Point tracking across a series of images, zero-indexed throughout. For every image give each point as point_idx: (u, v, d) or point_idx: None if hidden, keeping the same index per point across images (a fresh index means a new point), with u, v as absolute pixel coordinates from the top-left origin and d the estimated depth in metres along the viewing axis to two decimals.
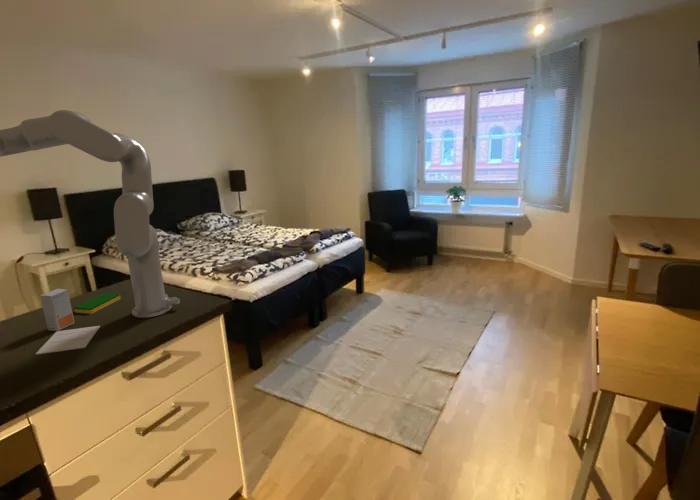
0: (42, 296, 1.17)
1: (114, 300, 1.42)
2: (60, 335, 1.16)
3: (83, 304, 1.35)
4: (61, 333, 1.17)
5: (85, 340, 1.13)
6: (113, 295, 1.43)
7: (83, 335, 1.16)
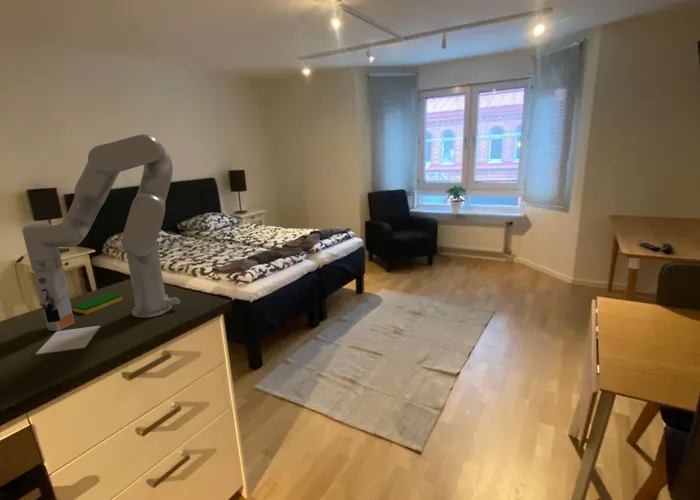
0: None
1: (114, 301, 1.41)
2: (60, 335, 1.16)
3: (82, 303, 1.36)
4: (61, 333, 1.17)
5: (85, 340, 1.13)
6: (114, 296, 1.42)
7: (83, 335, 1.16)
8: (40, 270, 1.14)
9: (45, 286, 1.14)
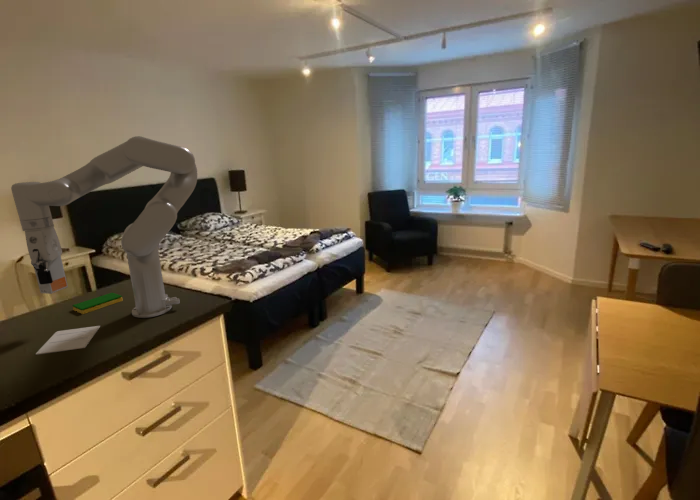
0: None
1: (113, 302, 1.40)
2: (60, 335, 1.16)
3: (82, 302, 1.36)
4: (61, 333, 1.17)
5: (85, 340, 1.13)
6: (114, 296, 1.41)
7: (83, 335, 1.16)
8: (30, 229, 1.10)
9: (36, 246, 1.11)
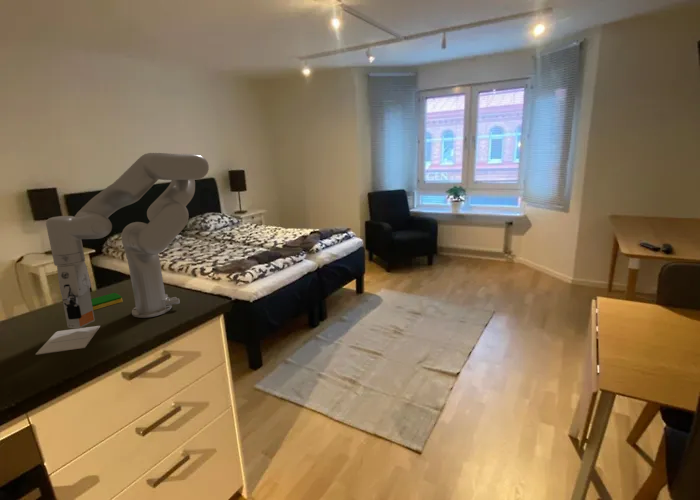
0: None
1: (112, 303, 1.39)
2: (60, 335, 1.16)
3: None
4: (61, 333, 1.17)
5: (85, 340, 1.13)
6: (114, 297, 1.41)
7: (83, 335, 1.16)
8: (63, 264, 1.09)
9: (68, 281, 1.09)
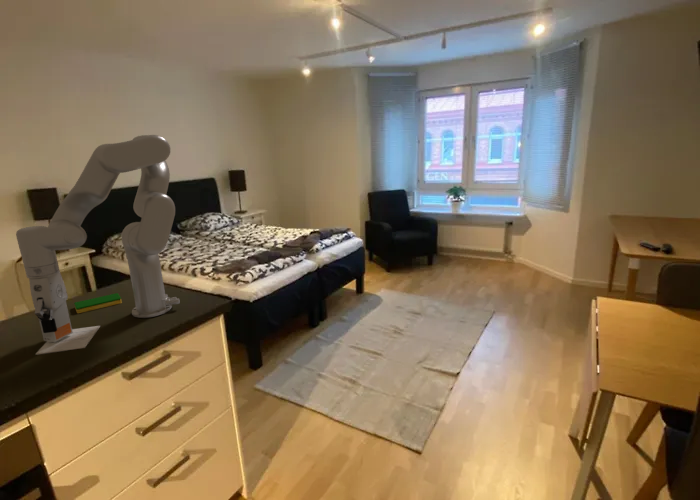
0: None
1: (111, 304, 1.39)
2: None
3: (83, 301, 1.38)
4: None
5: (85, 340, 1.13)
6: (114, 298, 1.40)
7: (83, 335, 1.16)
8: (35, 277, 1.05)
9: (41, 294, 1.05)
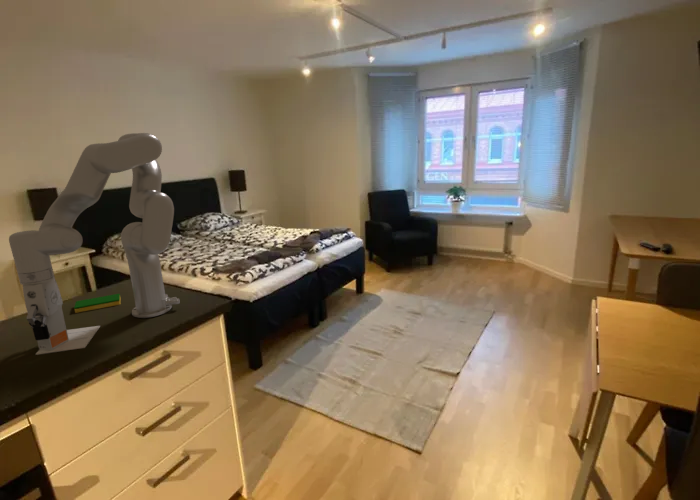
0: None
1: (109, 304, 1.38)
2: None
3: (85, 300, 1.38)
4: None
5: (85, 340, 1.13)
6: (113, 299, 1.39)
7: (83, 335, 1.16)
8: (29, 283, 1.01)
9: (34, 301, 1.02)
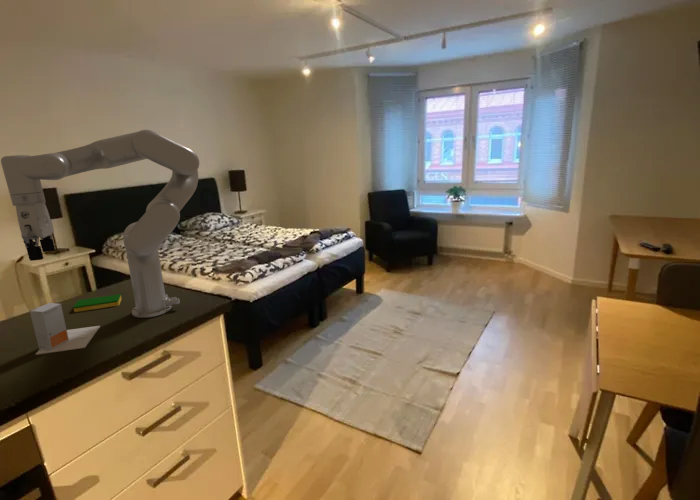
0: (32, 311, 1.05)
1: (108, 305, 1.37)
2: None
3: (86, 300, 1.39)
4: None
5: (85, 340, 1.13)
6: (112, 300, 1.38)
7: (83, 335, 1.16)
8: (22, 204, 1.06)
9: (28, 221, 1.07)
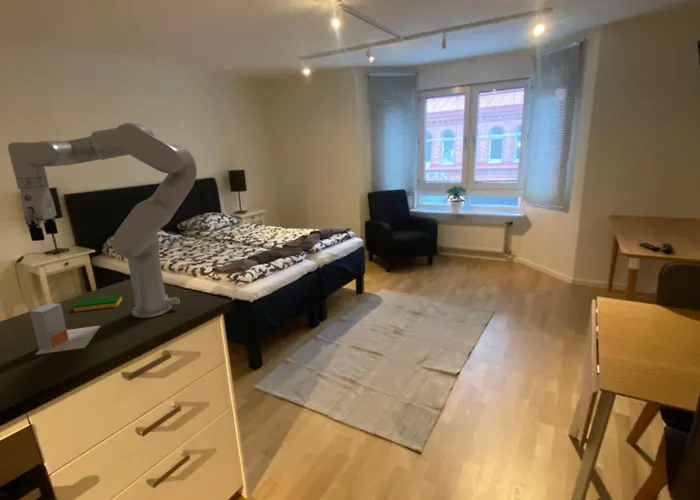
0: (32, 311, 1.05)
1: (106, 306, 1.37)
2: None
3: (87, 299, 1.39)
4: None
5: (85, 340, 1.13)
6: (110, 300, 1.38)
7: (83, 335, 1.16)
8: (26, 187, 1.14)
9: (31, 204, 1.14)
